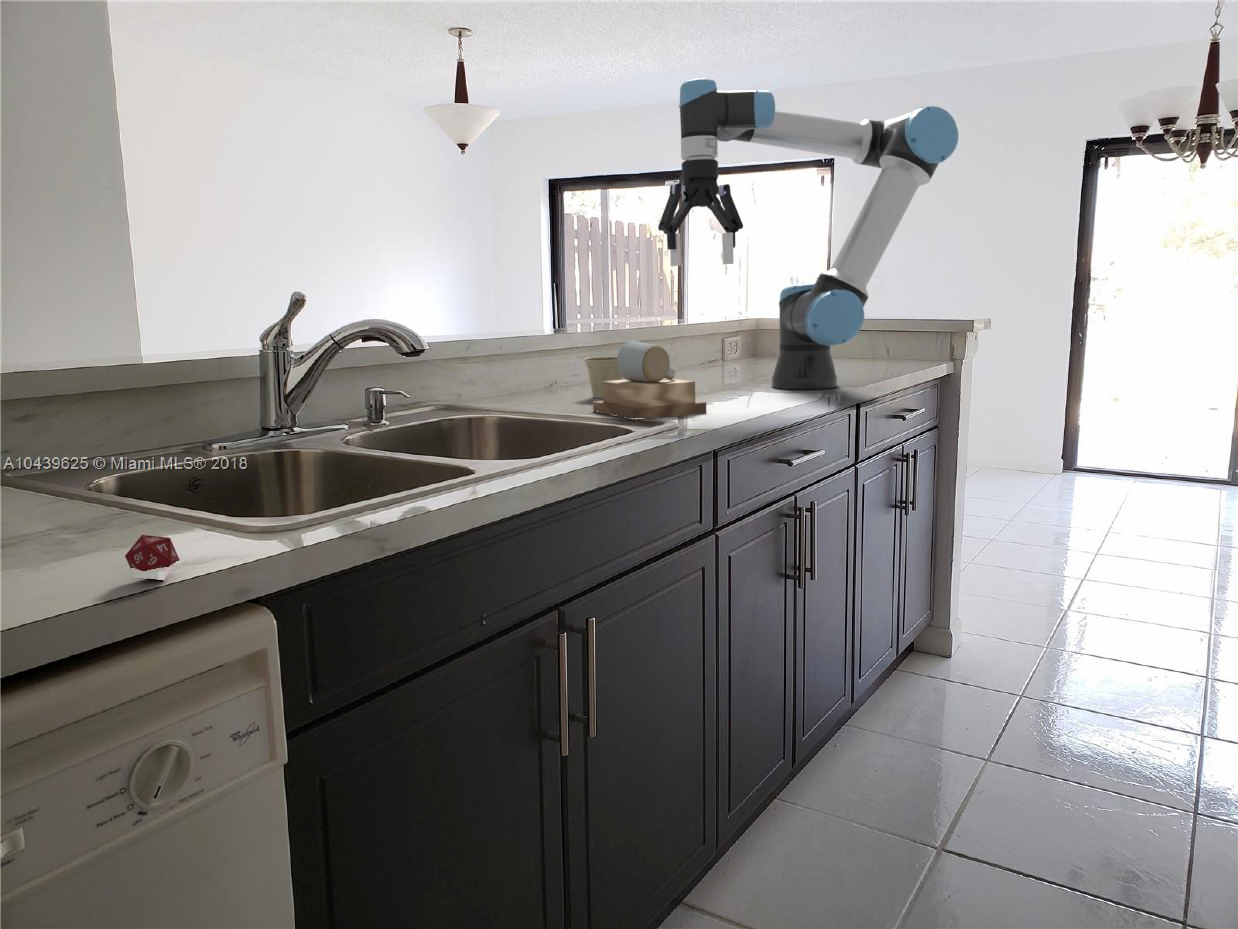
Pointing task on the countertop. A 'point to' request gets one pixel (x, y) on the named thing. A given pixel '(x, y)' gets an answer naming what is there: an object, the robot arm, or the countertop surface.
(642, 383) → the pedestal block
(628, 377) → the ceramic mug
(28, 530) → the countertop surface
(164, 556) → the dice
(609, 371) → the flower pot
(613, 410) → the board
